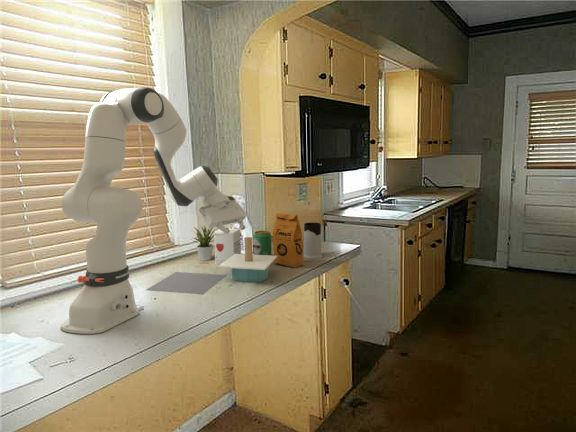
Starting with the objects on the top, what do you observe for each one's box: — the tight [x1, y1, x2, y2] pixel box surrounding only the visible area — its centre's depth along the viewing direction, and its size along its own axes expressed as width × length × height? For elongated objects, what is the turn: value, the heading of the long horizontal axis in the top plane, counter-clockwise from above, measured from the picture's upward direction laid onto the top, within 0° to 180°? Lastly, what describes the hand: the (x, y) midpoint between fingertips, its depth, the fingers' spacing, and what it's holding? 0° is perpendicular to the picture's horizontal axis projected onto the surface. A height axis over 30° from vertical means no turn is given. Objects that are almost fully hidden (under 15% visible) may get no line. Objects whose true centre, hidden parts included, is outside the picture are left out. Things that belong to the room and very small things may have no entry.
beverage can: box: [252, 230, 273, 256], centre depth 190 cm, size 8×8×12 cm
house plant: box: [191, 225, 219, 262], centre depth 189 cm, size 14×14×16 cm
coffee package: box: [272, 212, 304, 269], centre depth 178 cm, size 10×12×22 cm
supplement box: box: [213, 227, 242, 266], centre depth 181 cm, size 9×9×15 cm
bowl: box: [230, 266, 269, 283], centre depth 163 cm, size 14×14×6 cm
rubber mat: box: [145, 271, 227, 295], centre depth 156 cm, size 22×22×1 cm
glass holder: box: [303, 221, 324, 259], centre depth 194 cm, size 9×14×15 cm, turn 147°
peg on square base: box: [217, 236, 277, 270], centre depth 161 cm, size 18×18×10 cm
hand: (235, 230), depth 163 cm, fingers open, 8 cm apart
